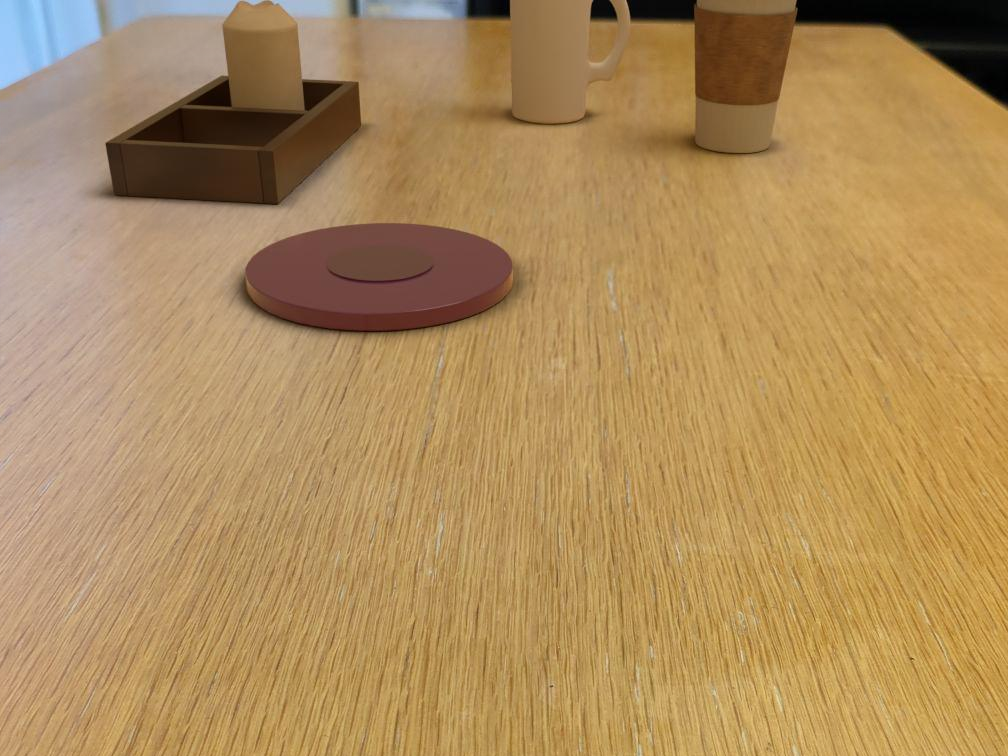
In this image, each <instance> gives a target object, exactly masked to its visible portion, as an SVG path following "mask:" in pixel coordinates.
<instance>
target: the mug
mask: <svg viewBox="0 0 1008 756" xmlns="http://www.w3.org/2000/svg"><path fill="white" fill-rule="evenodd" d="M608 1H609V2H610V3H611V4H612V6H613V8H614V11H615V13H616V18H617V19H616V20H617V29H616V36H615V40H614V43H613V45H612V49H611V50H610V52H609V53H608V55H607V56H606V57H605V59H604V60H603V61H601V62H593V61H591V60H590V59H589V47H590V26H591V13H592V12H591V11H592V3H593V2H594V0H509V16H510V18H509V19H510V22H509V24H510V69H511V70H510V77H511V79H510V83H511V113H512V116H513V117H514V118H515V119H517V120H520V121H524V122H529V123H535V124H549V125H550V124H568V123H573V122H577V121H579V120H582V119H583V118H584V117H585V114H586V103H587V89H588V87H589V85H591V84H592V83H595V82H598V81H605V82H610V81H613V79H614V78H615V75H616V73H617V70H618V68H619V65H620V63H621V61H622V58H623V55H624V53H625V51H626V49H627V45H628V42H629V38H630V33H631V14H630V9H629V8H630V7H629V5H628V2H627V0H608Z"/></svg>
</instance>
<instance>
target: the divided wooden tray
mask: <svg viewBox="0 0 1008 756" xmlns="http://www.w3.org/2000/svg"><path fill="white" fill-rule="evenodd" d="M302 84H303V96H304V108H305V111H304V110H283V109H261V108H240V107H232V104H231V96H230V87H229V78H228V75H220V76H218V77H216V78H215V79H213V80H211V81H209V82H208V83H206V84H204V85H203V86H201V87H199V88H197V89H195V90H194V91H193V92H190V93H189V94H187V95H185V96H183V97H182V98H180V99H179V100H177V101H175V102H173V103H171V104H170V105H167V106H166V107H164V108H162V109H161V110H159V111H157V112H156V113H154V114H152V115H151V116H149V117H147V118H146V119H144V120H142V121H140V122H138V123H137V124H135V125H134V126H132V127H130V128H129V129H126V130H125V131H123V132H121V133H119V134H118V135H116V136H114V137H113V138H111V139H109V140H108V141H106V142H104V144H105V151H106V157H107V162H108V167H109V168H108V169H109V174H110V179H111V186H112V191H113V195H114V196H124V197H144V198H159V199H160V198H162V199H177V200H179V199H180V200H195V201H196V200H197V201H213V202H232V203H252V204H268V205H270V204H271V205H278V204H279V203H280V202H282V201H283V200H284V199H285V198H286V197H287V196H288V195H289V194H290V193H292V192H293V191H294V189H296V188H297V187H298V186H299V185H300V184H301V183H302V182H303V181H304V180H305V179H306V178H307V177H308V176H309V175H311V174H312V173H313V172H314V171H315V170H316V169H317V168H318V167H319V166H320V165H321V164H322V163H324V162H325V160H327V159H328V158H329V157H330V156H331V155H332V154H333V153H334V152H335V151H336V150H337V149H339V147H341V145H343V144H344V143H345V142H346V141H347V140H348V139H349V138H350V137H351V136H352V135H353V134H354V133H355V132H357V131H358V130H359V129H360V128H361V127H362V116H361V100H360V82H359V81H355V80H354V81H353V80H352V81H351V80H350V81H349V80H329V79H309V78H308V79H307V78H302Z"/></svg>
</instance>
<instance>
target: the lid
mask: <svg viewBox="0 0 1008 756" xmlns="http://www.w3.org/2000/svg"><path fill="white" fill-rule="evenodd" d="M244 276H245V285H246V291H247V294H248V296H249V298H250V299H251V300H252V302H253V303H254V304H255V305H256V306H258V307H259V308H260V309H262V310H264V311H265V312H267V313H269V314H272V315H274V316H276V317H278V318H281V319H283V320H287V321H290V322H293V323H297V324H300V325H307V326H311V327H315V328H324V329H331V330H332V329H333V330H339V331H340V330H342V331H358V332H359V331H361V332H382V331H383V332H384V331H401V330H411V329H420V328H426V327H432V326H439V325H443V324H447V323H451V322H455V321H460V320H463V319H466V318H469V317H472V316H474V315H477V314H479V313H482V312H484V311H486V310H488V309H490V308H491V307H494V306H495V305H496V304H498V303H499V302H501V301H502V300H503V299H504V298H505V297H506V296H507V295H508V294H509V292H510V291H511V289H512V287H513V283H514V264H513V260H512V258H511V256H510V254H509V253H508V252H507V251H506V250H505V249H504V248H502V247H501V246H500V245H498V244H497V243H495V242H493V241H491V240H489V239H488V238H484V237H481V236H480V235H477V234H474V233H470V232H467V231H463V230H460V229H454V228H450V227H443V226H437V225H429V224H421V223H420V224H418V223H403V222H396V223H395V222H376V223H375V222H373V223H371V222H370V223H357V224H346V225H345V224H344V225H338V226H329V227H325V228H319V229H313V230H310V231H306V232H302V233H298V234H294V235H290V236H288V237H285V238H283V239H280V240H277V241H275V242H273V243H270V244H268V245H266V246H265V247H263V248H262V249H260V250H258V251H257V252H255V254H254V255H253V256H252V257H251V258H250V259H249V260H248V262H247V263H246V267H245V269H244Z"/></svg>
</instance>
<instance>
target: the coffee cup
mask: <svg viewBox="0 0 1008 756" xmlns="http://www.w3.org/2000/svg"><path fill="white" fill-rule="evenodd" d="M796 5H797V0H696V3H695V4H694V5H693V12H694V15H693V16H694V24H693V25H694V95H695V113H694V115H695V119H694V121H695V122H694V123H695V125H694V137H695V138H694V141H695V144H696V145H697V146H698V147H700V148H702V149H704V150H705V149H706V150H709V151H712V152H717V153H726V154H727V153H728V154H751V153H758V152H762V151H765V150H767V149H769V147H770V145H771V142H772V136H773V130H774V125H775V119H776V113H777V109H778V103H779V99H780V95H781V91H782V85H783V82H784V77H785V72H786V68H787V61H788V57H789V52H790V49H791V43H792V38H793V33H794V28H795V24H796V18H797V15H798V7H796Z"/></svg>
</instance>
